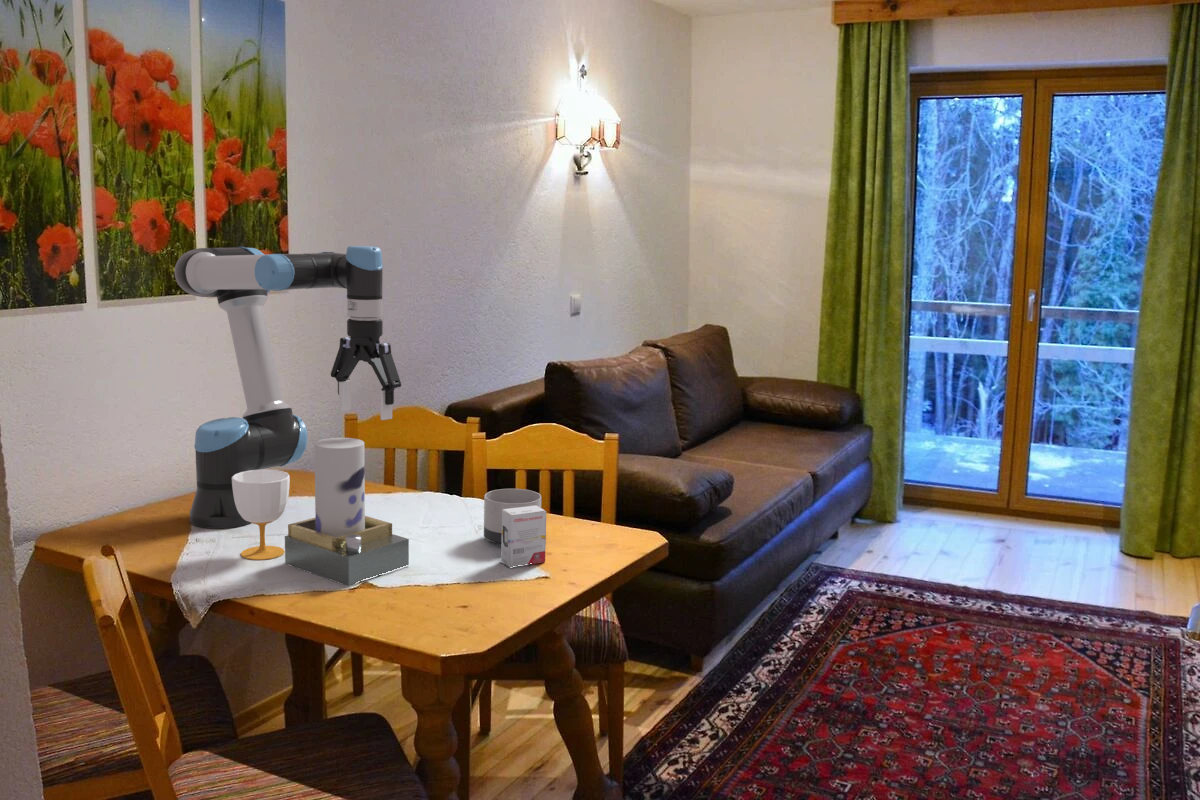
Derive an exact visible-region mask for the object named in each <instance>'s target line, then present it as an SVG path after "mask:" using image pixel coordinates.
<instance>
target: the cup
mask: <svg viewBox="0 0 1200 800" xmlns="http://www.w3.org/2000/svg"><path fill="white" fill-rule="evenodd" d="M290 478H291V476H290V474H289V473H288V472H286V471H282V470H277V469H261V470H250V471H245V472H240V473H238V474H235V475H234V476H233V477H232V489H233V495H234V502H235V505H236V508H237V511H238V512H239V514H240V515H241V517H242V518H243V519H244V520H246V521H248V522H251V523H250V524H254V525H258V527H259V546H252V547H248V548H245V549H243V550H242V551H241V552H240V556H241V558H244V559H246V560H251V561H266V560H268V561H269V560H273V559H277V558H279V557H282V556H283V555H285V548H282V547H280V546H276V545H266V538H265V537H266V535H265V534H266V532H265V531H266V525H268V524H271V523H273V522H275V521H277V520H279V518H281V517H282V515H283V513H284V512H285V511H286V509H287V505H288V502H289V496H290V493H289V492H290V484H291V483H290ZM281 555H282V556H281Z"/></svg>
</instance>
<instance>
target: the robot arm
mask: <svg viewBox="0 0 1200 800" xmlns="http://www.w3.org/2000/svg"><path fill="white" fill-rule="evenodd" d="M345 252H346V253H339V252H334V251H321V252H320V251H319V252H315V253H314V252H313V253H311V252H310V253H270V254H265V253H263V252H262V251H261V250H259V249H257V248H255V247H245V246H236V247H234V246H233V247H232V246H231V247H198V248H195V249H191V250H189V251H186V252H184V253H183V254H182V255H181V256H180V257H178V260H177V261H176V263H175V266H174V278H175V280H176V283H177V285H178V286H179V287H180V288H181V289H182V290H183V291H184V292H185V293H186V294H189V295H191V296H195V297H199V298H216V299H217V304H218V307H219V308H220V309H222V310H223V311H225V312H226V314H227V319H228V324H229V330H230V333H231V339H232V343H233V347H234V353H235V357H236V362H237V366H238V372H239V376H240V380H241V385H242V391H243V395H244V399H245V406H246V411H244V413H243V414H242V416H241V417H235V416H231V417H227V418H226V417H223V418H216V419H213V420H209V421H207V422H204V423H202V424H201V425H199V426H198V428H197V429H196V431H195V438H194V449H195V471H196V472H195V474H196V475H195V476H196V491H195V494H194V498H193V501H192V504H191V508H190V509H189V522H190V524H191V525H193V526H196V527H200V528H206V529H229V528H230V529H231V528H235V527H241V526H246V525H248V524H252V523H251V522H248V521H246V520H244V519H243V518H242V517H241V515H240V514H239V512H238V511H237V508H236V505H235V502H234V495H233V489H232V477H233V476H234V475H235V474H238V473H240V472H245V471H250V470H267V469H270V468H271V469H272V468H276V467H283V466H286V465H290V464H293V463H296V462H297V461H299V460H300V459H301V458H302V457H303V455H304V454H305V450H306V449H307V446H308V430H307V426H306V423H305V422H304V421H303V419H302V418H301V417H300V416H298V415H296V414H294V413H293V408H292V406H291V405H289V404H287V403H286V402H285V401H284V398H283V393H282V388H281V384H280V379H279V375H278V370H277V364H276V361H275V355H274V351H273V346H272V342H271V337H270V332H269V327H268V323H267V317H266V314H265V310H264V308H265V307H264V305H265V304H266V302H267V301H268V299H269V296H268V293H270V292H271V291H274V292H279V291H291V290H302V289H306V290H308V289H309V290H310V289H326V288H329V289H330V288H339V289H346V313H347V314H346V316H348V317H349V318H348V319H347V320H346V333H347V334H346V335H347V336H346V337H340V339H339V346H338V347H339V348H338V351H337V354H336V357H335V359H334V361H333V366H332V368H331V372H330V377H332V378H334V379H336V382H337V395H338V411H339V412H345V411H351V410H352V397H351V396H352V392H351V391H352V389H351V388H352V387H351V386H352V383H351V380H350V379H351V378H350V377H351V375H352V373H353V372H354V370H355V369H356V368H357V365H358V364H359V362H360V361H362V362H365V363H367V364H368V365H370V367H371V368H372V370H373V371H374V374H375V375H376V377H377V379H378V381H379V383H380V385H381V386H382V388H381V389H380V391H379V394H380V420H381V421H387V420H392V419H393V405H394V402H395V396H394V395H395V389H397V388H401V387H402V382H401V379H400V376H399V375H400V374H399V373H398V369H397V367H396V363H395V360H394V359H393V355H392V354H393V353H392V347H391V343H390V342H385V343H381V342H380V338H381V337H382V336H383V334H384V333H383V331H384V329H383V328H384V327H383V323H384V322H383V320H382V319H381V318H382V317H383V313H384V312H383V310H384V309H383V268H384V264H383V254H382V253H383V252H382V249H381V248H380V247H378V246H375V245H374V246H373V245H349V246H348V247H347V248H346V251H345Z"/></svg>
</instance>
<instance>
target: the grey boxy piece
mask: <svg viewBox="0 0 1200 800" xmlns="http://www.w3.org/2000/svg"><path fill="white" fill-rule="evenodd" d="M287 531H288V532H287V535H284V551H285V552H284V560H285V561H284V562H285V563H284V564H285V565H287V566H290V567H293V568H296V569H299V570H302V571H304V570H305V571H304V572H307V571H308V573H310V572H311V573H310V574H312V575H316V576H318V575H319V576H318V577H321V576H322V578H324V577H325V579H327V578H328V580H330V579H331V580H330V581H332V582H333V581H334V582H335V581H336V583H338V582H339V584H341V585H344V586H348V587H351V586H354V585H356V584H355V583H356V582H358V581H361V580H363V579H366V578H370V577H373V576H376V575H379V574H382V573H386V572H388V571H392V570H394V569H397V568H400V567H403V566H406V565H409V564H410V562H409V560H410V559H409V558H410V555H409V553H410V547H409V546H410V545H409V543H410V542H409V541H410V539H409V538H407V537H404V536H401V535H397V534H393V523H392V522H388V521H386V520H380V519H378V518H374V517H370V516H367V515H365V530H361V531H357V532H354V533H350V534H347V535H343V536H340V537H333V536H330V535H327V534H323V533H320V532H317V531H316V517H312V518H307V519H304V520H301V521H296V522H293V523H290V524H289V523H288V524H287ZM353 584H354V585H353Z"/></svg>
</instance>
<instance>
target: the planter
mask: <svg viewBox="0 0 1200 800" xmlns="http://www.w3.org/2000/svg"><path fill="white" fill-rule="evenodd" d="M483 497H484V498H483V499H484V501H483V502H484V503H483V506H484V507H483V509H484V510H483V537H484V538H485V539H486V540H487V541H490V542H492V543H493V544H494V543H495V544H497V545H499V544H500V546H501V539H502V509H509V508H518V507H527V506H535V505H537V506H538V507H540V508H542V495H541V493H539V492H536V491H533V490H530V489H524V488H522V489H521V488H501V489H494V490H491V491H488V492H485V494H484V496H483Z"/></svg>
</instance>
